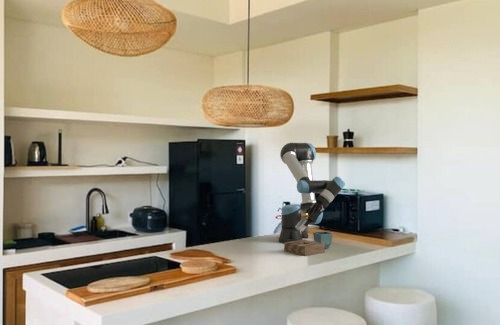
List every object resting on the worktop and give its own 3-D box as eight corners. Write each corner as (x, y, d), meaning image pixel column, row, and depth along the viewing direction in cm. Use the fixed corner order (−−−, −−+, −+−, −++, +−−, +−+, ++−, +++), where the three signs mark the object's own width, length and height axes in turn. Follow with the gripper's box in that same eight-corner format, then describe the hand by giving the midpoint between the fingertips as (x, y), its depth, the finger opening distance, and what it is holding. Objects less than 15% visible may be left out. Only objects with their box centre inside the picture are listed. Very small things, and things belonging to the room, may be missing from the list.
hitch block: (284, 251, 270) (284, 242, 270) (303, 248, 280) (303, 239, 280) (304, 256, 257) (305, 246, 257) (324, 252, 268) (324, 243, 268)
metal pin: (299, 237, 269) (299, 213, 269) (304, 237, 271) (304, 212, 271) (304, 238, 266) (305, 213, 266) (309, 238, 268) (309, 213, 268)
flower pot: (325, 246, 288) (325, 231, 287) (333, 248, 279) (333, 233, 279) (312, 247, 284) (312, 232, 284) (320, 249, 276) (320, 234, 276)
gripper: (336, 205, 266) (310, 236, 260) (320, 202, 282) (295, 231, 276) (328, 195, 264) (301, 226, 258) (313, 193, 280) (287, 222, 274)
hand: (298, 229), depth 267 cm, fingers closed on metal pin, 4 cm apart
